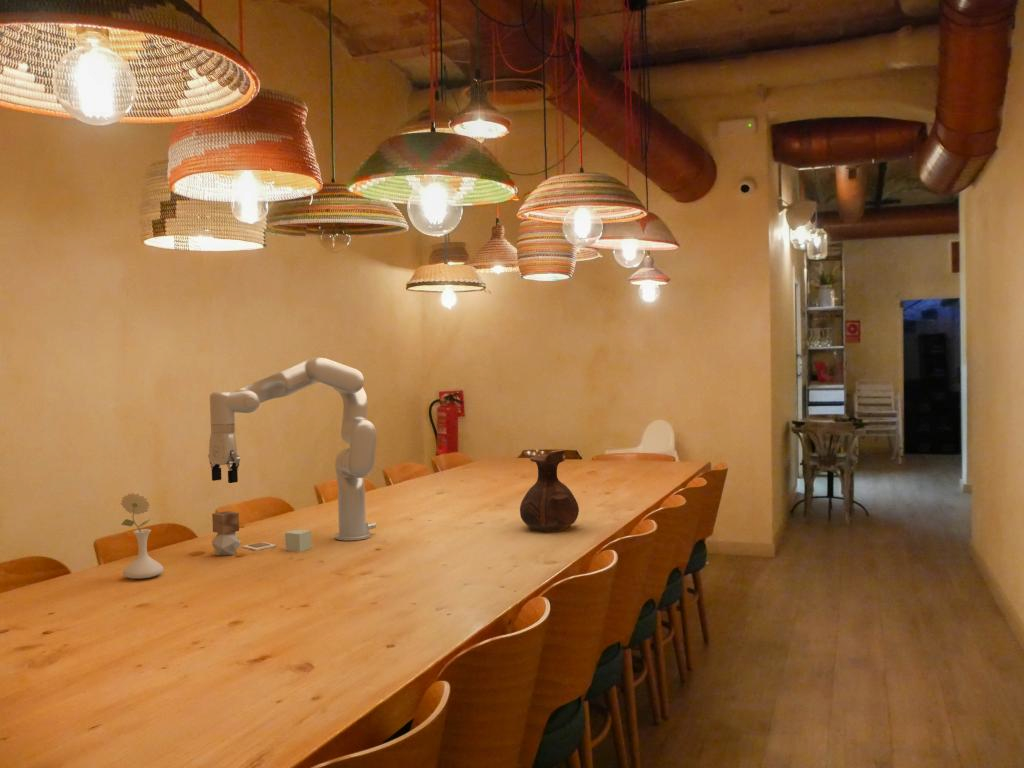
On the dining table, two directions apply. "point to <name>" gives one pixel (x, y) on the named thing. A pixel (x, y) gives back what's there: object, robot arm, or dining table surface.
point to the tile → (259, 546)
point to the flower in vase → (139, 540)
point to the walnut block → (225, 522)
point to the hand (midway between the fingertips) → (224, 481)
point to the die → (226, 543)
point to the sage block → (298, 540)
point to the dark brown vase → (549, 497)
